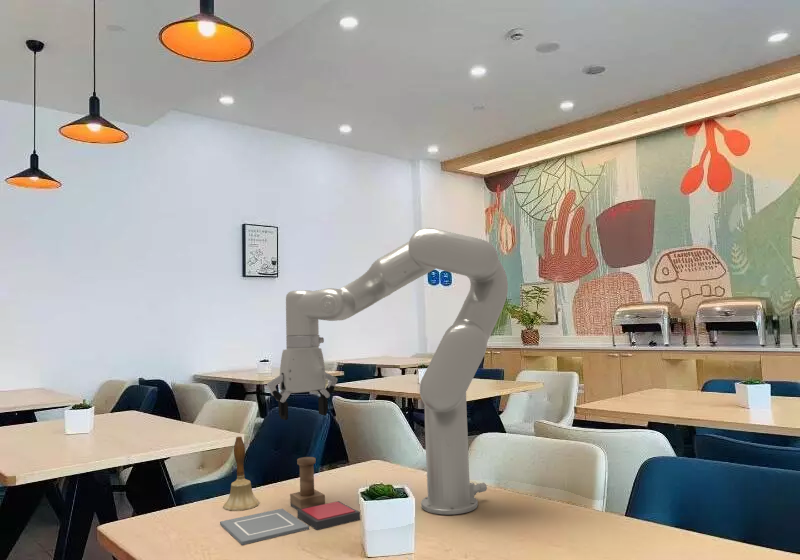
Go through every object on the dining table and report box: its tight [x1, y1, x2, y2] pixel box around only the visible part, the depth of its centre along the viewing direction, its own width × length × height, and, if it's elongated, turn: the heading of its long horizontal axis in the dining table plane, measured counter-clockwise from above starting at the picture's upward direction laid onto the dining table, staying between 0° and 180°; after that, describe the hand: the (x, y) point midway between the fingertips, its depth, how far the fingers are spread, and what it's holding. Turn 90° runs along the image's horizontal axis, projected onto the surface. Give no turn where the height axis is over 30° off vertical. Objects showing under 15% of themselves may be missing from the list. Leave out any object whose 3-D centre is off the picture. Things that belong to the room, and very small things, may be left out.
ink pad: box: [296, 500, 361, 531], centre depth 129 cm, size 10×10×2 cm
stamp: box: [289, 456, 326, 511], centre depth 139 cm, size 6×6×11 cm
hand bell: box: [222, 436, 261, 512], centre depth 142 cm, size 8×8×16 cm
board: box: [219, 508, 310, 546], centre depth 126 cm, size 14×15×1 cm
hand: (303, 416), depth 140 cm, fingers open, 9 cm apart
